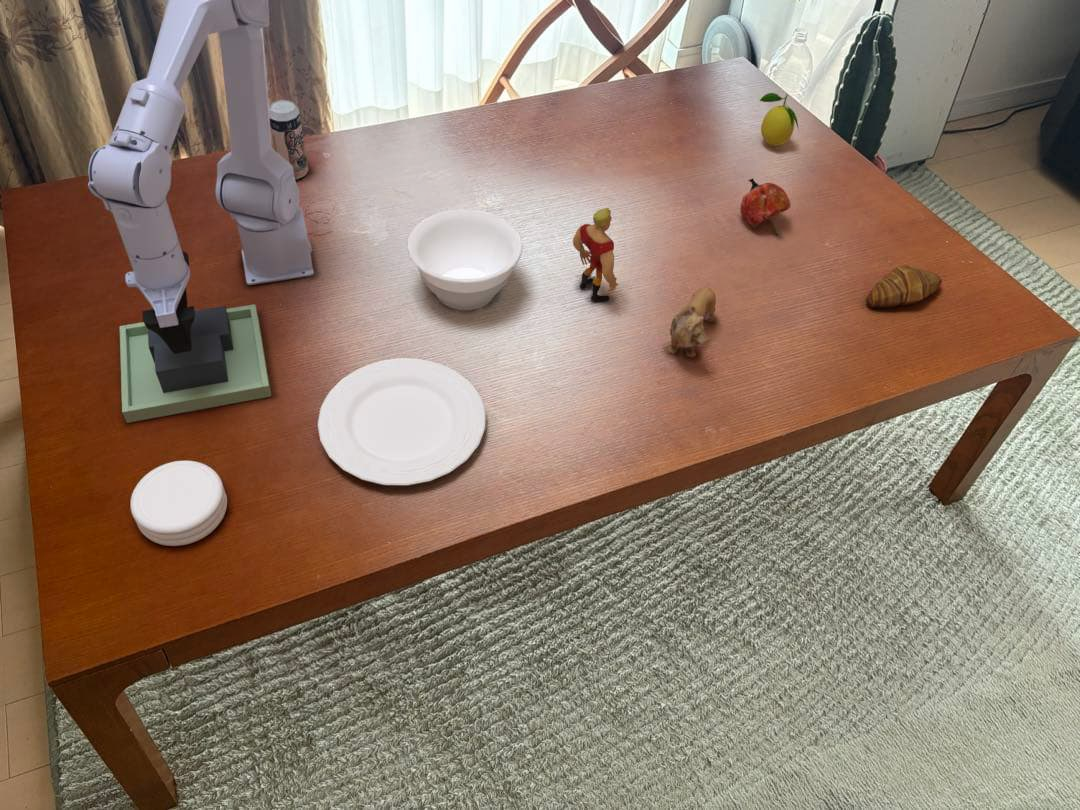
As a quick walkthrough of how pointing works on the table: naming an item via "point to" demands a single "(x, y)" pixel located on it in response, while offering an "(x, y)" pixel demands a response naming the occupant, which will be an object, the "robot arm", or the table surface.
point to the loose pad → (191, 364)
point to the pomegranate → (763, 203)
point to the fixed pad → (203, 328)
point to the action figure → (597, 253)
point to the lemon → (777, 121)
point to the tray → (150, 401)
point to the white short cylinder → (178, 503)
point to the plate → (401, 422)
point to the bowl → (464, 255)
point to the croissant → (903, 287)
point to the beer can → (288, 135)
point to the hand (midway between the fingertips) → (180, 329)
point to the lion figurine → (692, 322)
